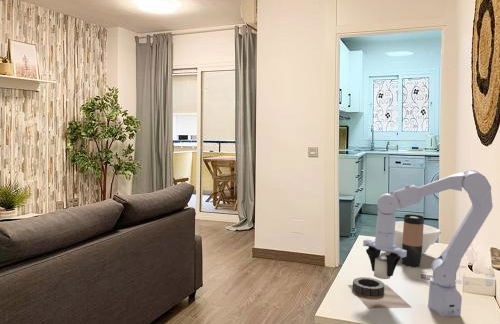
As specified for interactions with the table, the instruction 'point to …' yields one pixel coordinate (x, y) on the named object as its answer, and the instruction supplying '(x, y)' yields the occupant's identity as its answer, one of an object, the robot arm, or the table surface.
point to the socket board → (383, 299)
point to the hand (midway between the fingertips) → (382, 273)
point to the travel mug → (412, 240)
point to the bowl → (428, 235)
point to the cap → (381, 267)
